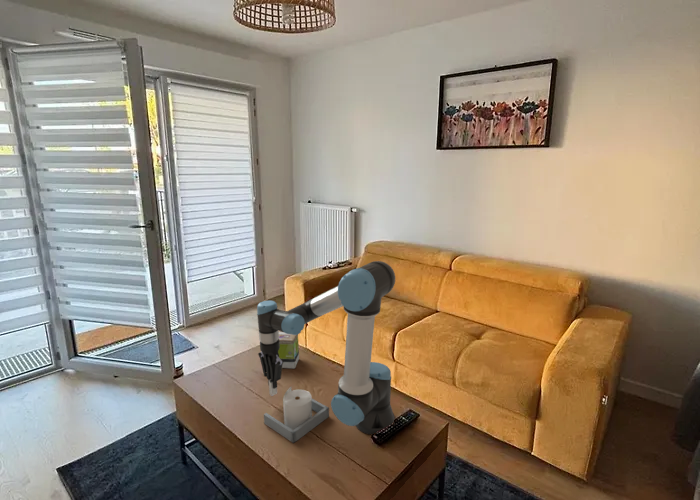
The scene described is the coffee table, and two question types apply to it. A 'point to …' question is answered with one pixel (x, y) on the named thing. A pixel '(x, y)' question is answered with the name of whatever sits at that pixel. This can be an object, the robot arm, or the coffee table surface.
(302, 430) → the grey u-shaped bracket
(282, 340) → the tea box
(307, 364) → the coffee table surface
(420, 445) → the coffee table surface
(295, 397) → the toilet tissue
